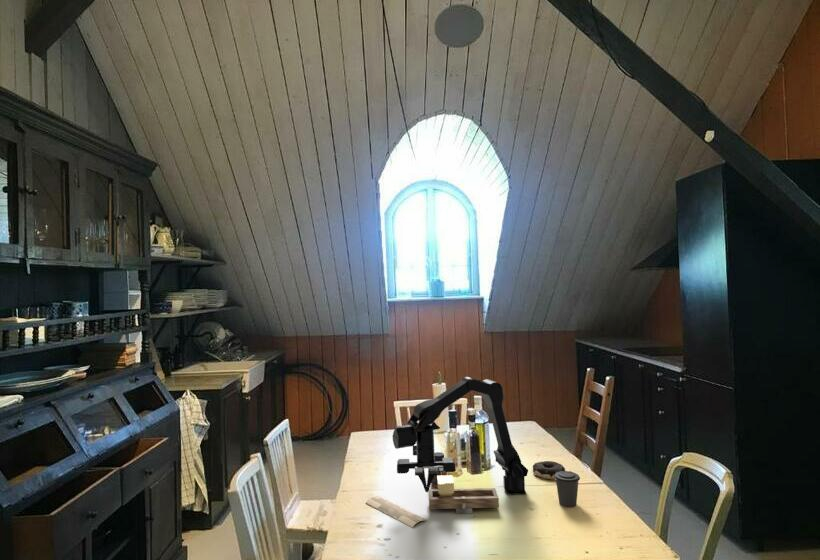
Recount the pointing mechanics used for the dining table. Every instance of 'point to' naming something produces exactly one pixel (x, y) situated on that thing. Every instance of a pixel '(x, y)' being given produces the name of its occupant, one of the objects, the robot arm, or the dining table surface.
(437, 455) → the supplement bottle
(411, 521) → the beige piece
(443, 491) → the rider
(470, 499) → the brown wooden rectangular tray
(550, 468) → the donut
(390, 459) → the dining table surface
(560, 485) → the coffee cup
